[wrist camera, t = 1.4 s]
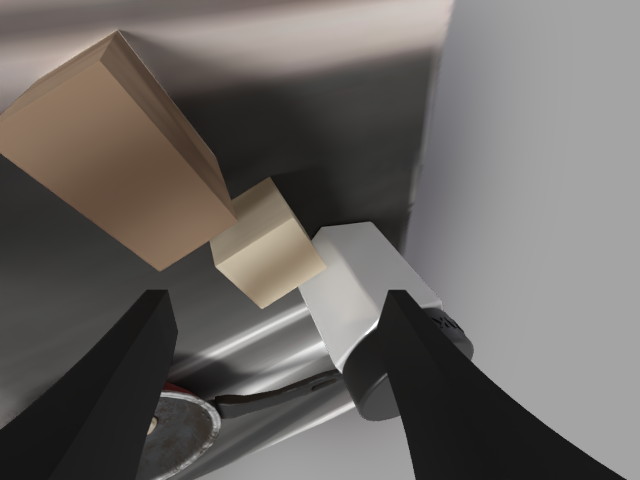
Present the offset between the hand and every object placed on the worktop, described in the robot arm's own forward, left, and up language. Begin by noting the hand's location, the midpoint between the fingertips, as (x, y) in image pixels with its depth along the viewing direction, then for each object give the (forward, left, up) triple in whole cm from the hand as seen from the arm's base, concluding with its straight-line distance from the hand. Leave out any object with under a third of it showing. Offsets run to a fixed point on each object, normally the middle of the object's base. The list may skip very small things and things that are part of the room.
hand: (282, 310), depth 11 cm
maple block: (+5, -1, -12) cm, 13 cm away
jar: (+13, +3, -12) cm, 18 cm away
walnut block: (-4, -2, -12) cm, 13 cm away
